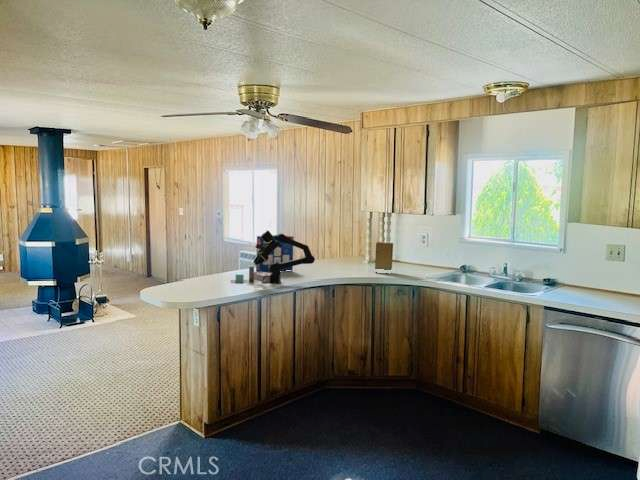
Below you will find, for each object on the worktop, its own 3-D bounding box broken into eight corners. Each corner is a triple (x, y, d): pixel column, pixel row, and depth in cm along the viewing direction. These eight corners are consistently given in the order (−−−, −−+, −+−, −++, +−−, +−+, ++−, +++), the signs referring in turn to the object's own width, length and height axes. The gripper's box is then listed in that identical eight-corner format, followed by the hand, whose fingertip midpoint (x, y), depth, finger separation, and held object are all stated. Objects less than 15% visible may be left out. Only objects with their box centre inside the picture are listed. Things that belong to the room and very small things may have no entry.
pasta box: (287, 269, 390) (289, 235, 387) (292, 271, 383) (293, 236, 381) (256, 271, 376) (257, 236, 373) (260, 273, 369) (261, 237, 366)
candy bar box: (262, 271, 348) (276, 274, 336) (262, 277, 348) (276, 281, 336) (249, 272, 340) (263, 275, 328) (249, 279, 341) (263, 283, 329)
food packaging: (392, 272, 394) (393, 242, 392) (390, 274, 385) (392, 243, 383) (376, 271, 398) (377, 241, 395) (374, 273, 389) (375, 242, 386)
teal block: (243, 280, 328) (243, 273, 327) (243, 282, 323) (243, 274, 322) (235, 280, 327) (235, 273, 326) (235, 282, 322) (236, 274, 321)
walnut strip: (257, 281, 333) (258, 265, 332) (259, 284, 322) (259, 268, 321) (230, 281, 329) (230, 265, 328) (230, 284, 318) (231, 268, 317)
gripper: (261, 237, 334) (245, 253, 333) (264, 240, 316) (246, 256, 315) (272, 249, 337) (256, 264, 335) (275, 252, 319) (258, 268, 317)
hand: (254, 263), depth 326 cm, fingers open, 9 cm apart
